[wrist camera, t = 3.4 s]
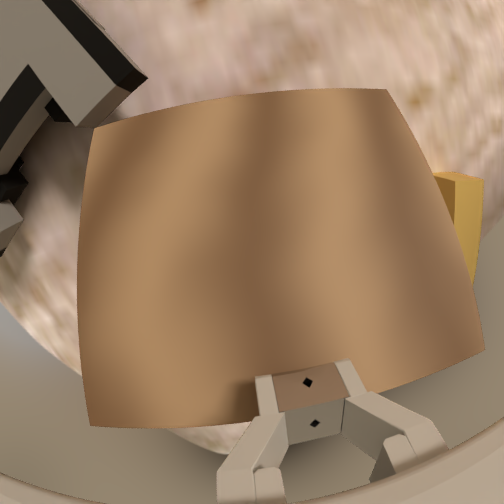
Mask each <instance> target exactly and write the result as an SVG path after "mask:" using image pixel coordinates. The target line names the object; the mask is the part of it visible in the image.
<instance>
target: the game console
mask: <svg viewBox="0 0 504 504" xmlns="http://www.w3.org/2000/svg"><path fill="white" fill-rule="evenodd" d="M147 79H148V77H147V76H146V75H145V74H144V73H143V72H142V71H141V69H140V68H139V67H138V66H137V65H136V64H135V63H134V62H133V61H132V60H131V58H130V57H129V56H128V55H127V54H126V53H125V52H124V51H123V50H122V49H121V48H120V47H119V45H118V44H117V43H116V42H115V41H114V40H113V39H112V38H111V37H110V36H109V35H108V34H107V33H106V31H105V29H104V28H103V27H102V26H101V25H100V23H99V22H98V21H97V20H96V19H95V18H94V17H93V16H92V15H91V14H90V13H89V12H88V11H87V10H86V9H85V8H84V7H83V6H82V5H81V4H80V3H79V2H78V1H77V0H0V257H1V256H2V255H3V253H4V251H5V249H6V248H7V246H8V244H9V243H10V241H11V239H12V237H13V236H14V234H15V233H16V231H17V229H18V228H19V226H20V225H21V223H22V222H23V220H24V219H23V218H22V217H21V215H20V214H19V213H18V211H17V210H16V209H15V207H14V204H15V203H16V201H17V199H18V198H19V196H20V195H21V193H22V192H23V190H24V189H25V187H26V186H27V184H28V182H27V180H26V179H25V178H24V176H23V175H22V173H21V172H20V170H19V169H20V168H21V166H22V165H23V163H24V162H23V160H22V159H21V158H20V156H19V155H20V153H21V152H22V150H23V149H24V148H25V146H26V145H27V143H28V142H29V141H30V139H31V138H32V136H33V135H34V134H35V132H36V131H37V130H38V128H39V127H40V126H41V124H42V123H43V122H44V121H45V119H46V118H47V117H48V116H49V115H50V116H51V117H52V119H53V120H54V121H55V122H70V123H73V124H74V125H75V126H76V127H90V128H96V127H97V126H98V125H99V124H100V123H101V122H102V121H103V120H104V119H105V118H106V117H107V116H108V115H109V114H110V113H111V112H112V111H113V110H114V109H115V108H116V107H117V106H118V105H119V104H120V103H121V102H122V101H124V100H125V99H126V98H127V97H128V96H129V95H130V94H131V93H132V92H133V91H134V90H135V89H137V88H138V87H139V86H140V85H141V84H142V83H143V82H145V81H146V80H147Z"/></svg>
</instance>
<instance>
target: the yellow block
mask: <svg viewBox="0 0 504 504" xmlns="http://www.w3.org/2000/svg"><path fill="white" fill-rule="evenodd" d="M433 176H434V178H435V180H436V182H437V185H438V187H439V189H440V192H441V194H442V196H443V199H444V201H445V204H446V206H447V209H448V211H449V214H450V217H451V219H452V222H453V225H454V228H455V230H456V233H457V236H458V239H459V242H460V245H461V248H462V251H463V255H464V258H465V261H466V265H467V268H468V272H469V275H470V279H471V283H472V287H473V283H474V277H475V271H476V265H477V259H478V251H479V243H480V235H481V224H482V211H483V188H484V180H483V179H480V178H476V177H472V176H468V175H464V174H460V173H456V172H438V173H433Z"/></svg>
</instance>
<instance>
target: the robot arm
mask: <svg viewBox="0 0 504 504" xmlns="http://www.w3.org/2000/svg"><path fill="white" fill-rule="evenodd" d="M271 375H272V376H271ZM255 386H256V393H257V401H258V408H259V416H256V417H254V419H253V420H252V422H251V423H250V425H249V426H248V428H247V429H246V431H245V432H244V434H243V435H242V437H241V438H240V439H239V441H238V442H237V444H236V445H235V447H234V448H233V450H232V451H231V452H230V454H229V455H228V457H227V458H226V460H225V461H224V462H223V464H222V465H221V467H220V468H219V469H218V471H217V504H287V502H286V497H285V492H284V487H283V482H282V476H281V471H280V470H279V469H278V468H279V466H280V464H281V462H282V459H283V457H284V455H285V453H286V451H287V449H288V445H291V444H296V443H300V442H304V441H309V440H312V439H318V438H322V437H327V436H331V435H336V434H340V433H341V435H342V436H344V437H345V438H346V439H348V440H349V441H350V442H352V443H353V444H354V445H356V446H357V447H358V448H360V449H361V450H362V451H364V452H365V453H367V454H368V455H369V456H371V457H372V458H373V459H375V460H376V464H375V467H374V469H373V471H372V474H371V476H370V478H369V480H370V484H367V485H363V486H360V487H357V488H354V489H350V490H347V491H343V492H340V493H336V494H332V495H328V496H324V497H319V498H315V499H310V500H305V501H300V502H295V503H290V504H504V417H503V418H501V419H500V420H499V421H497V422H495V423H494V424H492V425H491V426H489V427H488V428H486V429H485V430H483V431H481V432H480V433H478V434H476V435H475V436H473V437H471V438H470V439H468V440H466V441H464V442H463V443H461V444H459V445H457V446H455V447H454V448H452V449H450V450H449V449H448V447H447V445H446V443H445V442H444V440H443V439H442V437H441V435H440V434H439V432H438V430H437V429H436V427H435V426H434V424H433V422H432V421H431V420H430V419H428V418H426V417H424V416H422V415H419V414H417V413H415V412H413V411H411V410H409V409H407V408H405V407H403V406H401V405H399V404H397V403H395V402H392V401H391V400H388V399H386V398H385V397H383V396H381V395H379V394H377V393H375V392H373V391H370V392H367V391H366V389H365V387H364V385H363V383H362V381H361V379H360V377H359V375H358V373H357V372H356V370H355V368H354V366H353V364H352V362H351V360H350V359H349V358H346V359H342V360H338V361H334V362H330V363H326V364H321V365H317V366H313V367H308V368H303V369H299V370H293V371H287V372H281V373H274V374H270V375H263V376H255ZM0 504H105V503H100V502H94V501H90V500H85V499H81V498H76V497H72V496H68V495H64V494H61V493H57V492H54V491H50V490H47V489H44V488H40V487H38V486H35V485H32V484H29V483H26V482H23V481H21V480H18V479H15V478H13V477H10V476H8V475H5V474H3V473H0Z"/></svg>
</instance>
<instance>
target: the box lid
mask: <svg viewBox="0 0 504 504" xmlns="http://www.w3.org/2000/svg"><path fill="white" fill-rule="evenodd" d="M77 313H78V334H79V348H80V359H81V368H82V377H83V385H84V391H85V398H86V405H87V410H88V416H89V421H90V426H99V427H118V428H183V427H201V426H214V425H224V424H234V423H242V422H250V421H252V420H253V419H254V417H256V416H259V408H258V401H257V393H256V386H255V376H263V375H270V374H274V373H281V372H287V371H293V370H299V369H303V368H308V367H313V366H317V365H321V364H326V363H330V362H334V361H338V360H342V359H346V358H349V359H350V360H351V362H352V364H353V366H354V368H355V370H356V372H357V373H358V375H359V377H360V379H361V381H362V383H363V385H364V387H365V389H366V391H367V392H370V391H373V392H375V393H380V392H383V391H386V390H389V389H392V388H395V387H398V386H401V385H404V384H407V383H410V382H412V381H415V380H417V379H420V378H423V377H426V376H428V375H431V374H433V373H436V372H438V371H440V370H443V369H445V368H447V367H450V366H452V365H454V364H457V363H459V362H461V361H463V360H465V359H467V358H470V357H471V356H474V355H476V354H478V353H480V352H482V351H484V350H485V346H484V340H483V334H482V328H481V323H480V317H479V313H478V308H477V304H476V299H475V295H474V291H473V287H472V283H471V279H470V275H469V272H468V268H467V265H466V261H465V258H464V255H463V251H462V248H461V245H460V242H459V239H458V236H457V233H456V230H455V228H454V225H453V222H452V219H451V217H450V214H449V211H448V209H447V206H446V204H445V201H444V199H443V196H442V194H441V192H440V189H439V187H438V185H437V182H436V180H435V178H434V176H433V173H432V171H431V169H430V167H429V165H428V163H427V161H426V159H425V157H424V155H423V153H422V151H421V149H420V147H419V145H418V143H417V141H416V139H415V137H414V135H413V133H412V131H411V130H410V128H409V126H408V124H407V122H406V121H405V119H404V117H403V115H402V114H401V112H400V110H399V109H398V107H397V105H396V104H395V102H394V100H393V99H392V97H391V96H390V94H389V92H388V91H387V90H386V89H355V88H336V89H305V90H289V91H276V92H265V93H256V94H247V95H240V96H232V97H225V98H219V99H213V100H207V101H201V102H196V103H190V104H185V105H180V106H176V107H171V108H167V109H162V110H158V111H154V112H150V113H146V114H142V115H138V116H134V117H130V118H127V119H123V120H120V121H116V122H113V123H110V124H106V125H103V126H100V127H97V128H94V131H93V136H92V141H91V146H90V151H89V157H88V163H87V169H86V175H85V182H84V189H83V197H82V206H81V216H80V227H79V241H78V262H77ZM271 376H272V375H271Z"/></svg>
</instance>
